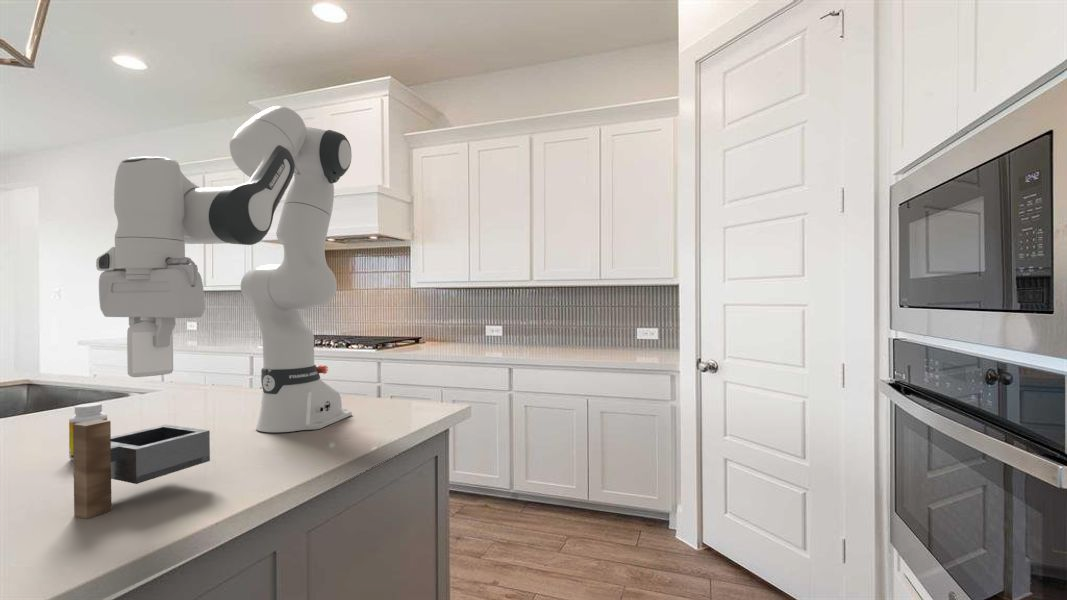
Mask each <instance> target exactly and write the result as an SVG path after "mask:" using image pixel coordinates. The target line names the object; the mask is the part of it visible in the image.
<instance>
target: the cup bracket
mask: <svg viewBox="0 0 1067 600" xmlns="http://www.w3.org/2000/svg"><path fill="white" fill-rule="evenodd" d="M111 426H112V425H111V420H108V419H107V420H100V419H97V420H92V421H86V422H81V423H76V424H73V458H74V461H73V517H78V518H83V519H84V520H85V519H86V520H89V519H91V518H93V517H97V516H99V515H103V514H106V513H108V512H111V511H112V507H113V505H112V480H116V481H121V482H123V483H124V482H125V483H129V484H135V485H137V484H141V483H146V482H148V481H150V480H154V479H157V478H160V477H163V476H167V475H169V474H172V473H176V472H180V471H182V470H186V469H189V468H191V467H194V466H198V465H202V464H205V463H208V462H210V461H211V449H210V448H211V443H210V441H211V438H210V437H211V436H210V435H211V434H210V433H211V432H210V430H208V429H200V428H195V427H194V428H193V427H185V426H178V425H171V424H164V425H163V424H162V425H159V426H155V427H151V428H150V427H149V428H145V429H141V430H136V431H132V432H128V433H122V434H119V435H115V436H111V434H112V433H111V429H112V428H111Z"/></svg>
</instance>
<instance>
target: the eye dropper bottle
mask: <svg viewBox="0 0 1067 600" xmlns="http://www.w3.org/2000/svg"><path fill="white" fill-rule="evenodd" d="M140 320H143V321H141V322H140V323H137V324H134V325H132V326H129V327H128V328H127V333H126V334H127V336H126V348H127V350H126V351H127V353H126V356H127V363H126V364H127V375H128V376H129V377H131V378H142V377H143V378H145V377H155V376H163V375H169V374H172V373H173V372H174V335H173V331H174V330H173V331H172V333H171V335H170V345H169V346H168V347H154V346H153V336H155V335H156V332H157V328H158V325H156V318H146V317H140Z"/></svg>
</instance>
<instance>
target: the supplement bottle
mask: <svg viewBox="0 0 1067 600" xmlns="http://www.w3.org/2000/svg"><path fill="white" fill-rule="evenodd" d="M97 419H100V420H107V421H108V414H107V413H106V412H103V403H101V402H91V403H81V404H78V405H75V406H74V415H72V416H71V417H70V418H69V419H68V425H69V426H68V440H69V441H68V447H69V449H68V450H69V451H68V454H69V455H68V456H69V459H70V461H72V462H74V458H73V424H76V423H81V422H86V421H92V420H97Z"/></svg>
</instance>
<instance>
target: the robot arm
mask: <svg viewBox="0 0 1067 600" xmlns="http://www.w3.org/2000/svg"><path fill="white" fill-rule="evenodd" d="M229 152H230V156H231V159H232V161H233V162H234V164H235V165H236V166H237V168H238V169H239V170H240V171H241V172H242V173H243V174H244V175H246V176H247V177H249V179H248V181H246V182H245V183H242V184H237V185H231V186H222V187H221V186H220V187H219V186H217V187H215V186H214V187H200V186H198V185H197V184H194V182H192V181H191V180H190V179H188V178H187V177H186V175H184V173H183V172H182V171H181V167H180V164H179V162H178V160H175V159H172V158H169V157H163V156H135V157H128V158H125V159H123V160H121V161H120V163H119V164H118V166H117V170H116V173H115V177H114V178H115V179H114V191H113V192H114V193H113V198H114V199H113V207H114V213H115V216H116V218H117V228H116V231H115V234H114V245H113V246H111V247H110V248H109V249H108V250H107V251H106V252H104V253H102V254H101V255H99V256H98V257H97V258H96V262H95V263H96V265H95V267H96V270H97V271H100V272H101V273H100V275H99V278H98V298H99V299H98V300H99V308H100V311H101V313H102V315H103V316H104V317H106V318H128V326H129V327H130V326H132V325H134V324H137V323H140V322H141V321H143V320H140V317H146V318H156V325H158V328H157V332H156V335H155V336H153V346H154V347H168V346H169V345H170V335H171V333H172V331H174V329H175V326H176V325H177V324H176V319H190V318H191V319H192V318H193V319H194V318H201V317H202V316H203V314H204V313H205V309H206V303H205V302H206V299H205V292H204V285H203V279H202V276H201V274H200V272H199V268H198V265H197V264H196V263H195V262H194V261H193V260H192V258H191V257H188V256H186V244H187V245H192V244H193V245H195V244H196V245H198V244H199V245H202V244H204V245H208V244H209V245H212V244H215V245H218V244H221V245H222V244H229V245H230V244H231V245H245V246H251V245H256V244H258V243H260V241H262V240H263V239H264V238H265V237H266V235H267V234H268V233H269V231H270V229H271V227H272V223H273V220H274V219H273V218H274V214H275V211H276V209H277V207H278V206H279V203H280V202H281V200H282V198H283V196H284V194H285V192H286V191H287V193H286V196H285V199H284V201H283V206H282V210H281V213H280V217H279V219H278V224H277V227H276V231H275V232H276V233H275V234H276V235H275V236H276V238H277V240H278V241H279V243H280V244H281V245H282V246H283V260H282V262H281V263H268V264H267V263H266V264H263V265H260V266H257V267H254V268H252V269H250V270H248V271H247V272H246V273H244V275H243V277H242V278H241V282H240V292H241V294H242V297H243V298H244V300H245V301H246V303H249V305H250V306H251V307H252V309H253V312H254V313H255V316H256V318H257V321H258V325H259V327H260V332H261V339H262V359H263V360H262V361H263V362H262V363H263V367H262V368H261V372H260V374H261V375H260V376H261V377H260V380H261V381H260V383H261V388H262V396H261V404H260V411H259V416H258V418H257V419H258V420H257V423H256V426H255V430H256V431H259V432H261V433H262V432H264V433H289V432H296V431H308V430H311V431H312V430H319V429H322V428H324V427H326V426H329V425H333V423H336V422H339V421H341V420H344V419H346V418H347V417H351V416H352V415H353V412H352V410H349V409H347V408H346V409H345V408H343V404H342V397H341V394H340V392H338V390H336V389H335V388H333V387H332V386H330V385H329V384H328V383H326V382H325V381H323V380H322V379H321V375H320V374H323V375H324V374H327V373H328V372H329V367H328V365H318V366H317V365H316V364H315V336H314V333H313V331H312V329H310V327H308V326H307V325H306V323H305V322H304V320H303V317H302V315H301V311H300V310H308V309H309V310H310V309H315V308H318V307H321V306H326V305H327V304H328V305H329V303H331V302H332V300H333V299H334V298H335V296H336V293H337V290H338V289H337V288H338V281H337V278H336V276H335V274H334V272H333V271H332V269H331V268H330V267H329V266H328V263H327V260H326V251H325V249H326V240H327V237H328V236H327V235H328V231H329V226H330V222H331V217H332V214H333V213H332V212H333V206H334V200H335V199H334V198H335V186H334V184H335V183H337V182H338V181H339V180H340V178H341V177H343V176H344V175H345V174H346V173H347V171H348V170H349V168H350V166H351V163H352V157H353V156H352V146H351V144H350V141H349V140H348V138H347V137H346V135H345V134H344V133H341V132H339V131H335V130H331V129H327V130H325V129H323V128H322V129H321V128H317V127H310V126H306V123H305V121H304V120H303V118H302V117H301V115H300V114H298V113H297V112H296V111H295V110H293V109H292V108H289V107H286V106H281V105H277V106H276V105H275V106H271V107H269V108H267V109H264V110H262V111H260V112H259V113H257V114H255V115H254V116H252V117H250V118H249V119H248V120H247V121H246V122H244V123H243V124H242V125H241V126H240V127H239V128H238V129H237V130H236V131H235V132H234V134H233V135H232V137H231V139H230V142H229ZM293 176H294V178H293ZM292 179H293V180H292ZM291 181H292V182H291ZM290 183H291V184H290ZM289 185H290V187H289ZM288 187H289V188H288ZM287 189H288V190H287Z"/></svg>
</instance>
